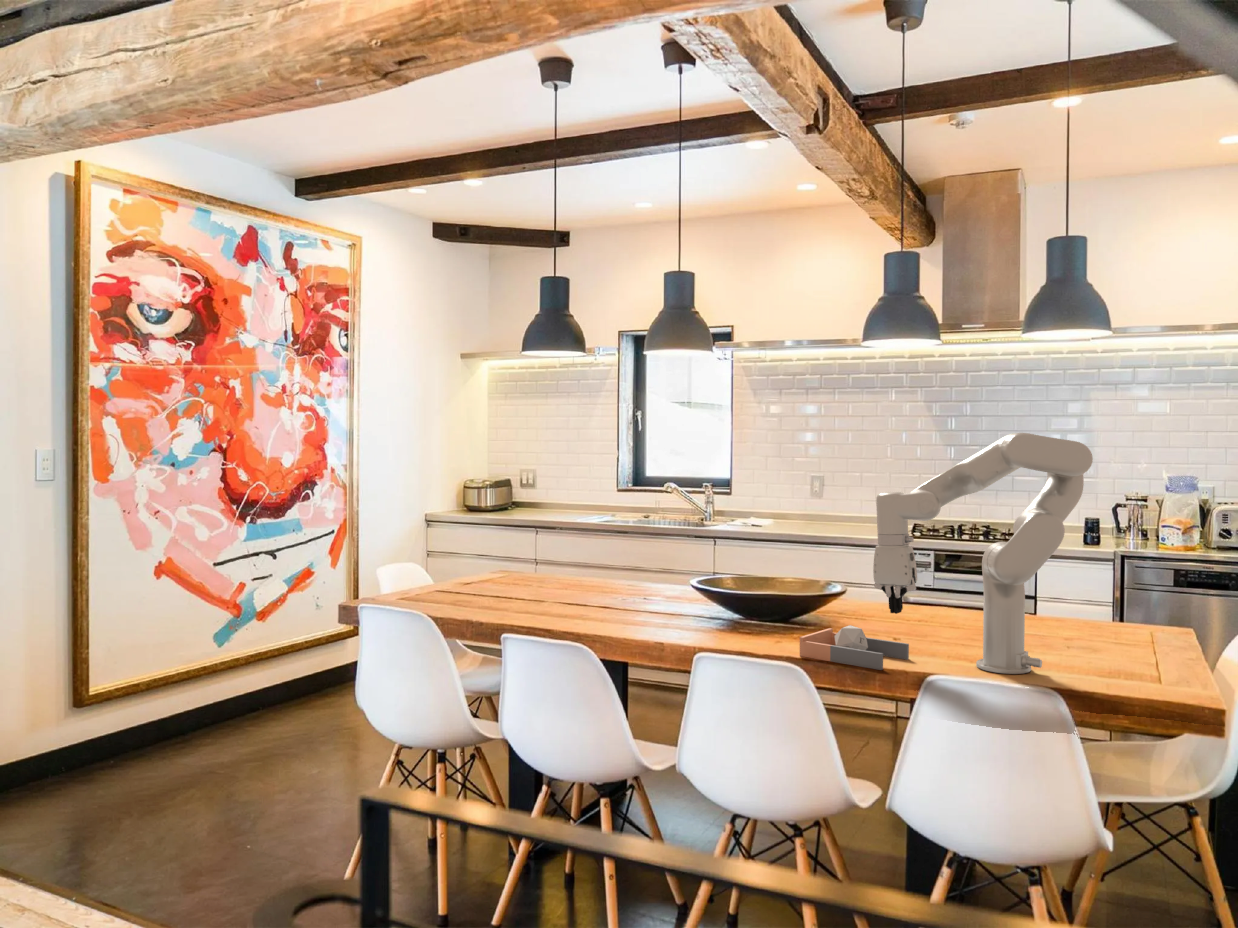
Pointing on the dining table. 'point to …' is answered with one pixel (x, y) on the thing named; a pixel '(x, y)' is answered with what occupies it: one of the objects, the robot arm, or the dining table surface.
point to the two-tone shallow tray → (851, 650)
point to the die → (851, 638)
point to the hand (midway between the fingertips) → (896, 612)
